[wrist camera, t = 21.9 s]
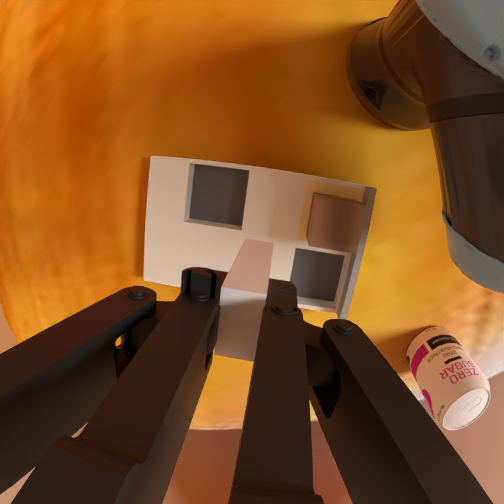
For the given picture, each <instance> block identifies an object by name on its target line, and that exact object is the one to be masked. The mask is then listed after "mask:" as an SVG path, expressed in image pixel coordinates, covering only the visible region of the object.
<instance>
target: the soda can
mask: <svg viewBox="0 0 504 504" xmlns="http://www.w3.org/2000/svg"><path fill="white" fill-rule="evenodd" d="M406 359H407V364H408V366H409V368H410V370H411V372H412V374H413V376H414V378H415V379H416V381H417V383H418V386H419V388H420V390H421V392H422V394H423V396H424V398H425V400H426V402H427V404H428V406H429V408H430V410H431V412H432V414H433V417H434V419H435V420H436V422H437V423H438V424H439V425H442V426H444V427H445V428H446V429H449V430H458V429H461V428H463V427H466V426H468V425H469V424H471V423H472V422H474V421H475V420H476V419H477V418H478V417H479V416H481V414H482V413H483V412H484V411H485V410H486V408H487V406H488V404H489V402H490V397H491V395H490V385H489V382H488V380H487V379H486V377H485V376H484V375H483V373H482V372H481V371H480V369H479V368H478V367H477V365H476V364H475V363H474V361H473V360H472V359H471V358H470V356H469V355H468V354H467V352H466V351H465V350H464V349H463V347H462V346H461V345H460V344H459V342H458V341H457V340H456V339H455V337H454V336H453V335H452V334H451V333H450V331H449V330H447V329H446V328H444V327H432V328H428V329H426V330H425V331H423V332H421V333H420V334H418V335H417V337H416V338H415V339H414V340H413V341H412V342H411V344H410V346H409V347H408V350H407V355H406Z"/></svg>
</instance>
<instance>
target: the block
mask: <svg viewBox="0 0 504 504" xmlns="http://www.w3.org/2000/svg"><path fill="white" fill-rule="evenodd" d="M365 211H366V205H364V204H362V203H360V202H359V201H357V200H354V199H349V198H343V197H338V196H333V195H327V194H322V193H316V192H313V196H312V202H311V208H310V214H309V219H308V225H307V231H306V238H307V241H308V245H309V246H311V247H317V248H323V249H329V250H335V251H341V252H347V253H353V254H357V249H358V245H359V240H360V236H361V231H362V226H363V221H364V216H365Z"/></svg>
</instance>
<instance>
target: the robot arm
mask: <svg viewBox="0 0 504 504" xmlns="http://www.w3.org/2000/svg"><path fill="white" fill-rule="evenodd" d="M346 67H347V74H348V78H349V81H350V84H351V87H352V89H353V91H354V93H355V94H356V96H357V98H358V99H359V101H360V102H361V103H362V104H363V106H364V107H365V108H366V109H367V110H368V111H369V112H370V113H371V114H372V115H374V116H375V117H376V118H378V119H379V120H381V121H382V122H384V123H386V124H388V125H390V126H393V127H395V128H398V129H403V130H410V131H415V130H423V129H428V128H430V129H431V133H432V138H433V143H434V148H435V153H436V158H437V164H438V170H439V177H440V184H441V192H442V201H443V209H442V217H443V220H444V223H445V225H446V231H447V240H448V249H449V253H450V256H451V258H452V260H453V262H454V263H455V265H456V266H457V267H458V268H459V269H460V270H461V272H462V273H463V274H464V275H465V276H467V277H468V278H469V279H471V280H472V281H474V282H475V283H477V284H479V285H481V286H483V287H485V288H488V289H490V290H493V291H496V292H499V293H503V294H504V0H399V1H398V3H397V4H396V6H395V7H394V9H393V10H392V12H391V13H390V14H389V16H387V17H384V18H380V19H376V20H374V21H372V22H370V23H368V24H366V25H365V26H364V27H363V28H361V29H360V30H359V32H358V33H357V34H356V36H355V37H354V39H353V41H352V42H351V44H350V47H349V49H348V53H347V60H346ZM273 245H274V243H270V242H264V241H258V240H251V239H245V240H244V242H243V244H242V246H241V248H240V250H239V252H238V254H237V256H236V258H235V260H234V262H233V264H232V266H231V268H230V270H229V272H224V271H218V270H213V269H209V268H205V267H190V268H185V269H184V270H182V276H181V293H180V295H179V296H178V297H177V299H176V300H175V301H156V296H157V294H156V292H155V291H154V290H152V289H150V288H146V287H144V286H133V287H127V288H124V289H122V290H120V291H118V292H116V293H114V294H112V295H110V296H108V297H106V298H104V299H102V300H101V301H99V302H97V303H95V304H93V305H91V306H89V307H87V308H85V309H83V310H81V311H79V312H77V313H76V314H74V315H72V316H70V317H68V318H66V319H64V320H62V321H60V322H59V323H57V324H55V325H53V326H51V327H49V328H47V329H45V330H44V331H42V332H40V333H38V334H36V335H34V336H32V337H31V338H29V339H27V340H25V341H23V342H21V343H19V344H18V345H16V346H14V347H12V348H10V349H9V350H7V351H5V352H3V353H1V354H0V494H1V493H3V492H4V491H6V490H7V489H8V488H10V487H11V486H12V485H14V484H15V483H16V482H18V481H19V480H20V479H21V478H22V477H24V476H25V475H26V474H27V473H28V472H30V471H31V470H32V469H33V468H34V467H35V469H34V470H33V472H32V473H31V475H30V476H29V478H28V479H27V480H26V482H25V483H24V485H23V486H22V488H21V489H20V491H19V492H18V494H17V495H16V497H15V498H14V500H13V501H12V503H11V504H162V503H163V500H164V497H165V494H166V491H167V488H168V485H169V483H170V480H171V477H172V474H173V471H174V469H175V466H176V463H177V460H178V457H179V454H180V451H181V449H182V446H183V443H184V440H185V437H186V435H187V432H188V429H189V426H190V423H191V420H192V418H193V415H194V412H195V409H196V406H197V403H198V400H199V398H200V395H201V392H202V389H203V386H204V383H205V381H206V378H207V375H208V372H209V369H210V366H211V364H212V357H213V350H214V347H215V353H214V354H215V355H220V356H225V357H231V358H236V359H242V360H248V361H254V364H253V370H252V375H251V381H250V387H249V393H248V399H247V405H246V410H245V416H244V421H243V427H242V433H241V438H240V444H239V449H238V455H237V460H236V465H235V471H234V476H233V481H232V486H231V492H230V497H229V502H228V504H324V503H323V499H322V497H321V495H318V494H315V492H314V489H313V470H312V469H313V468H312V442H311V422H310V405H309V399H310V402H311V404H312V407H313V409H314V411H315V414H316V416H317V419H318V421H319V423H320V426H321V428H322V431H323V433H324V435H325V438H326V440H327V442H328V445H329V447H330V450H331V452H332V454H333V457H334V459H335V462H336V464H337V467H338V469H339V471H340V474H341V476H342V479H343V481H344V483H345V486H346V488H347V491H348V493H349V495H350V498H351V500H352V502H353V504H493V503H492V501H491V500H490V498H489V497H488V496H487V494H486V492H485V491H484V490H483V488H482V487H481V485H480V484H479V482H478V481H477V480H476V478H475V477H474V475H473V474H472V473H471V471H470V470H469V468H468V467H467V466H466V464H465V463H464V462H463V460H462V459H461V457H460V456H459V455H458V453H457V452H456V451H455V449H454V448H453V446H452V445H451V444H450V442H449V441H448V440H447V438H446V437H445V436H444V434H443V433H442V432H441V430H440V429H439V428H438V426H437V425H436V424H435V422H434V421H433V420H432V418H431V417H430V416H429V414H428V413H427V412H426V410H425V409H424V408H423V407H422V405H421V404H420V403H419V401H418V400H417V399H416V397H415V396H414V395H413V394H412V392H411V391H410V390H409V388H408V387H407V386H406V385H405V383H404V382H403V381H402V379H401V378H400V377H399V376H398V374H397V373H396V372H395V371H394V369H393V368H392V367H391V365H390V364H389V363H388V362H387V360H386V359H385V358H384V357H383V355H382V354H381V353H380V352H379V350H378V349H377V348H376V347H375V345H374V344H373V343H372V342H371V341H370V339H369V338H368V337H367V336H366V334H365V333H364V332H363V331H362V329H361V328H360V327H358V326H357V325H356V324H354V323H352V322H351V321H348V320H345V319H330V320H327V321H325V323H324V325H323V328H320V327H317V326H314V325H312V324H309V323H307V322H305V321H304V320H303V314H302V312H301V310H300V309H299V308H298V302H297V289H296V286H295V285H294V284H293V283H292V282H291V281H285V280H279V279H272V278H269V275H270V268H271V260H272V253H273ZM120 336H121V344H120V345H119V346H117V347H116V345H115V342H116V340H117V339H118V338H119V337H120ZM87 422H88V424H87V425H86V426H85V428H84V429H83V431H82V432H81V433H80V434H79V436H77V437H75V438H72V437H71V436H72V435H73V434H74V433H76V432H77V431H78V430H79V429H80V428H82V427H83V426H84V425H85V424H86V423H87Z"/></svg>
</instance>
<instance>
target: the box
mask: <svg viewBox="0 0 504 504" xmlns="http://www.w3.org/2000/svg"><path fill="white" fill-rule="evenodd" d="M313 192H316V193H322V194H327V195H333V196H338V197H343V198H349V199H354V200H357V201H359V202H360V203H362V204H364V205H366V211H365V216H364V221H363V226H362V231H361V236H360V240H359V245H358V249H357V254H353V253H347V252H341V251H335V250H329V249H323V248H317V247H311V246H309V245H308V241H307V238H306V231H307V225H308V219H309V214H310V208H311V202H312V196H313ZM375 194H376V188H373V187H370V186H366V185H362V184H357V183H352V182H347V181H342V180H337V179H332V178H326V177H321V176H315V175H309V174H304V173H298V172H292V171H285V170H279V169H272V168H266V167H259V166H251V165H244V164H236V163H228V162H220V161H211V160H201V159H192V158H181V157H170V156H151V160H150V170H149V180H148V192H147V206H146V222H145V244H144V280H145V281H150V282H155V283H160V284H165V285H170V286H175V287H181V276H182V270H184V269H185V268H190V267H205V268H209V269H213V270H218V271H224V272H229V270H230V268H231V266H232V264H233V262H234V260H235V258H236V256H237V254H238V252H239V250H240V248H241V246H242V244H243V242H244V240H245V239H251V240H258V241H264V242H270V243H274V245H273V253H272V260H271V268H270V275H269V278H272V279H279V280H285V281H291V282H292V283H293V284H294V285H295V286H296V289H297V302H298V308H305V309H312V310H319V311H326V312H333V313H337V315H338V318H339V319H345V320H346V317H347V314H348V310H349V307H350V303H351V300H352V296H353V292H354V288H355V285H356V281H357V277H358V273H359V269H360V265H361V261H362V256H363V252H364V248H365V243H366V239H367V234H368V230H369V225H370V220H371V215H372V210H373V205H374V200H375Z"/></svg>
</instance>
